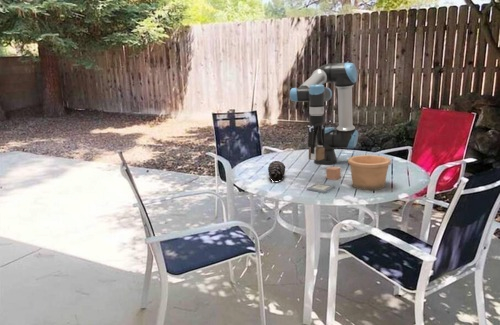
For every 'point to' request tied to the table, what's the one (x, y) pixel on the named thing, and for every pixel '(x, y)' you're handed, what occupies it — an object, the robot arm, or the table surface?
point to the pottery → (369, 171)
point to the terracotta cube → (333, 173)
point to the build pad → (321, 188)
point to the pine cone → (276, 170)
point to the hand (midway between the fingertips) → (316, 158)
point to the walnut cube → (318, 153)
